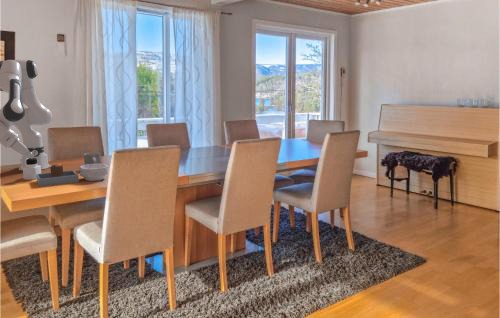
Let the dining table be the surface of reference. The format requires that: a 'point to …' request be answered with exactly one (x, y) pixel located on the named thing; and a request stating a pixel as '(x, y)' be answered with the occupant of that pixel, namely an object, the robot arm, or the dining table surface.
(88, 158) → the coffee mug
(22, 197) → the dining table surface
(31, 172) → the medicine bottle
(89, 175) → the paper bowls
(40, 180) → the tray
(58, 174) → the sleeve
